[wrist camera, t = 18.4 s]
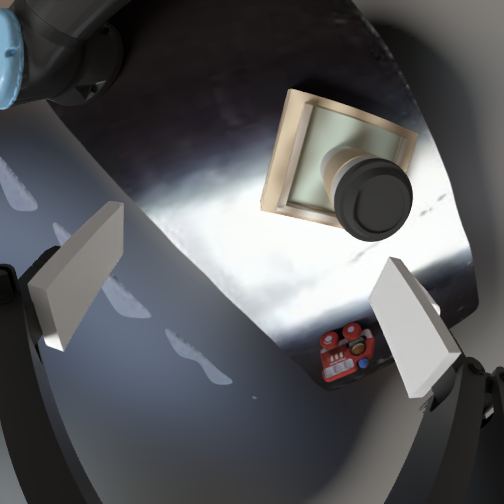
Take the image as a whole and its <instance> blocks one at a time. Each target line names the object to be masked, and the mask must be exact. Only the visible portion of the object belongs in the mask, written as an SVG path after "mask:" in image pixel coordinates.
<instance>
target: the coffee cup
mask: <svg viewBox="0 0 504 504" xmlns="http://www.w3.org/2000/svg"><path fill="white" fill-rule="evenodd" d="M320 176H321V179H322V181H323V183H324V187H325V189H326V192H327V194H328V197H329V199H330V201H331V204H332V206H333V209H334V211H335V214H336V217H337V219H338V221H339V223H340V224H341V226H342V227H343V228H344V229H345V230H346V231H347V232H348V233H350V234H351V235H352V236H353V237H355V238H357V239H359V240H362V241H367V242H375V241H380V240H383V239H386V238H388V237H390V236H391V235H393V234H394V233H396V232H397V231H398V230H399V229H400V228H401V227H402V225H403V224H404V223H405V221H406V220H407V218H408V216H409V213H410V211H411V207H412V201H413V192H412V186H411V183H410V181H409V178H408V177H407V175H406V174H405V172H404V171H403V170H402V169H401V168H400V167H399V166H398V165H397V164H395V163H394V162H392V161H389V160H387V159H383V158H381V157H379V156H376V155H373V154H371V153H368V152H365V151H363V150H360V149H356V148H351V147H348V146H338V147H334V148H332V149H331V150H329V151H328V152H327V153H326V154H325V155H324V157H323V159H322V161H321V164H320Z"/></svg>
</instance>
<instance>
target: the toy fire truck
mask: <svg viewBox="0 0 504 504" xmlns="http://www.w3.org/2000/svg"><path fill="white" fill-rule="evenodd" d="M343 336H344V337H345V338H344V339H342V340H339V336H338V334H337V333H336V332H327V333H325V334H324V335H323V336H322V337H321V340H320V343H321V345H322V347H323V348H322V349H321V350H320V354H321V359H322V363H323V367H324V369H323V371H322V374H323V378H324V379H325V381H327V382H331V381H333V380H336V379H338V378H341V377H343V376H346V375H348V374H350V373H353V372H355V371H356V370H357V369H358V365H359V366H360V367H361V368H366V367H367V366H368V364H369V362H368V360H369V359H371V358H372V355H373V350H374V345H375V340H374V337H373V334H372V332H371V330H370V329H364V330H361V327H360V325H359V324H357V323H350V324H347V325H346V326H345V327H344V329H343ZM349 348H350V349H349ZM366 348H367V349H366ZM352 353H353V354H354V356H353V355H352Z"/></svg>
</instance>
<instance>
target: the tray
mask: <svg viewBox="0 0 504 504" xmlns="http://www.w3.org/2000/svg"><path fill="white" fill-rule="evenodd" d="M417 137H418V134H417V133H415V132H413V131H411V130H409V129H406V128H404V127H402V126H399V125H397V124H395V123H392V122H390V121H387V120H385V119H382V118H380V117H377V116H375V115H372V114H370V113H367V112H364V111H362V110H359V109H356V108H353V107H350V106H347V105H344V104H341V103H338V102H335V101H332V100H329V99H326V98H323V97H319V96H316V95H312V94H309V93H305V92H302V91H298V90H294V89H288V92H287V96H286V100H285V104H284V108H283V112H282V116H281V120H280V124H279V128H278V132H277V136H276V140H275V144H274V148H273V152H272V156H271V160H270V164H269V168H268V172H267V176H266V180H265V184H264V188H263V192H262V196H261V200H260V203H261V210H262V211H267V212H271V213H276V214H281V215H285V216H290V217H294V218H299V219H303V220H308V221H312V222H317V223H321V224H325V225H330V226H334V227H338V228H342V229H344V228H343V227H342V226H341V224H340V223H339V221H338V219H337V217H336V214H335V211H334V209H333V206H332V204H331V201H330V199H329V197H328V194H327V192H326V189H325V187H324V183H323V181H322V179H321V176H320V164H321V161H322V159H323V157H324V155H325V154H326V153H327V152H328V151H329V150H331V149H332V148H334V147H338V146H348V147H351V148H356V149H360V150H363V151H365V152H368V153H371V154H373V155H376V156H379V157H381V158H383V159H387V160H389V161H392V162H394V163H395V164H397V165H398V166H399V167H400V168H401V169H402V170H403V171H404V172H405V174H406V171H407V168H408V165H409V162H410V159H411V156H412V153H413V150H414V147H415V144H416V141H417Z"/></svg>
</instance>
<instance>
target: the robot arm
mask: <svg viewBox="0 0 504 504" xmlns="http://www.w3.org/2000/svg"><path fill="white" fill-rule="evenodd" d="M130 1H131V0H15V1H14V2H13V3H12V4H11V6H10V7H9V8H0V109H7V108H9V107H12V106H17V105H21V104H25V103H30V102H34V101H39V100H44V99H49V100H52V101H54V102H56V103H59V104H61V105H66V106H75V105H82V104H86V103H89V102H91V101H93V100H95V99H97V98H98V97H100V96H101V95H102V94H104V93H105V92H106V91H107V90H108V89H109V87H110V86H111V85H112V83H113V82H114V80H115V79H116V77H117V75H118V73H119V71H120V68H121V65H122V61H123V52H124V50H123V42H122V38H121V36H120V33H119V32H118V30H117V29H116V28H115V27H114V26H113V25H112V24H110V23H109V22H107V21H108V20H109V19H110V18H111V17H112V16H113V15H115V14H116V13H117V12H118V11H119V10H120V9H122V8H123V7H124V6H125V5H126V4H128V3H129V2H130ZM123 211H124V203H119V202H114V201H109V202H108V203H107V204H105V205H104V206H103V207H102V208H101V209H100V210H99V211H98V212H97V213H96V214H94V215H93V216H92V217H91V218H90V219H89V220H88V221H87V222H86V223H85V224H84V225H83V226H82V227H81V228H80V229H79V230H78V231H77V232H76V233H75V234H73V235H72V236H71V237H70V238H69V239H68V240H67V241H66V243H65V244H64V245H63V246H62V247H60V246H54V247H52V248H50V249H48V250H46V251H45V252H44V253H43V254H42V255H41V256H40V257H39V258H38V260H36V261H35V262H34V263H33V265H32V266H30V267H29V268H28V269H27V271H26V272H25V273H24V274H23V275H22V276H21V277H20V278H19V279H17V275H16V272H15V269H14V267H13V266H11V265H8V264H0V421H1V425H2V430H3V433H4V437H5V441H6V445H7V448H8V451H9V455H10V458H11V461H12V464H13V467H14V470H15V473H16V476H17V478H18V481H19V484H20V486H21V489H22V491H23V494H24V496H25V498H26V501H27V503H28V504H103V503H102V502H101V500H100V498H99V497H98V495H97V493H96V491H95V489H94V488H93V486H92V484H91V482H90V480H89V478H88V476H87V474H86V473H85V471H84V469H83V466H82V464H81V462H80V460H79V458H78V456H77V454H76V452H75V450H74V448H73V445H72V443H71V440H70V438H69V436H68V434H67V431H66V428H65V426H64V423H63V421H62V418H61V416H60V413H59V410H58V407H57V404H56V402H55V399H54V396H53V393H52V390H51V386H50V383H49V380H48V376H47V373H46V369H45V366H44V362H43V358H42V354H41V350H40V347H39V344H38V341H39V339H40V337H41V336H42V334H43V337H44V340H45V342H46V345H48V346H50V347H53V348H55V349H58V350H61V351H64V350H65V348H66V346H67V344H68V342H69V341H70V338H71V337H72V335H73V333H74V332H75V330H76V328H77V326H78V325H79V323H80V321H81V320H82V318H83V316H84V314H85V313H86V311H87V309H88V308H89V306H90V304H91V303H92V301H93V300H94V298H95V296H96V294H97V293H98V292H99V290H100V288H101V287H102V285H103V284H104V282H105V281H106V279H107V277H108V276H109V274H110V273H111V271H112V270H113V268H114V267H115V265H116V264H117V262H118V261H119V259H120V257H121V256H122V255H123V214H124V212H123ZM368 300H369V302H370V304H371V306H372V308H373V311H374V313H375V315H376V317H377V319H378V322H379V324H380V326H381V328H382V331H383V333H384V335H385V338H386V340H387V342H388V345H389V347H390V350H391V352H392V354H393V357H394V359H395V362H396V364H397V367H398V369H399V372H400V374H401V377H402V379H403V382H404V384H405V387H406V390H407V392H408V395H409V398H417V397H423V396H424V395H425V394H426V393H427V392H428V391H429V390H430V389H431V388H432V390H433V393H434V394H433V395H432V396H431V397H430V398H429V399H428V400H427V401H426V402H425V403H424V404H423V405H422V406H421V407H420V409H419V411H421V410H422V409H423V408H425V407H426V409H425V411H424V412H423V413H424V415H423V418H422V421H421V424H420V426H419V429H418V432H417V434H416V437H415V439H414V442H413V444H412V447H411V449H410V451H409V454H408V456H407V458H406V460H405V463H404V465H403V467H402V469H401V471H400V473H399V476H398V477H397V480H396V482H395V484H394V486H393V487H392V490H391V491H390V493H389V495H388V497H387V499H386V501H385V502H384V504H504V368H503V367H500V366H499V367H497V368H496V369H495V370H494V371H493V373H492V374H490V373H486V372H485V370H484V368H483V366H482V365H481V363H480V362H479V361H478V360H476V359H475V358H473V357H466V356H465V355H464V353H463V351H462V350H461V348H460V346H459V344H458V343H457V341H456V339H455V338H454V337H453V334H452V333H451V331H450V330H449V328H448V326H447V324H446V323H445V321H444V320H443V319H442V318H441V317H440V316H439V315H438V313H437V311H436V310H435V308H434V307H433V305H432V304H431V302H430V301H429V299H428V298H427V296H426V295H425V293H424V292H423V290H422V289H421V287H420V286H419V284H418V283H417V282H416V280H415V279H414V277H413V276H412V274H411V273H410V272H409V270H408V269H407V267H406V266H405V265H404V263H403V262H402V261H401V259H397V258H393V257H389V258H388V260H387V262H386V264H385V266H384V268H383V270H382V272H381V274H380V276H379V278H378V280H377V282H376V284H375V286H374V288H373V290H372V292H371V294H370V296H369V298H368ZM492 407H493V408H494V413H492V414H491V415H490V416H489V417H488V418H487V419H486V418H485V414H486V413H487V412H488V411H489V410H490V409H491V408H492Z"/></svg>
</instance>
